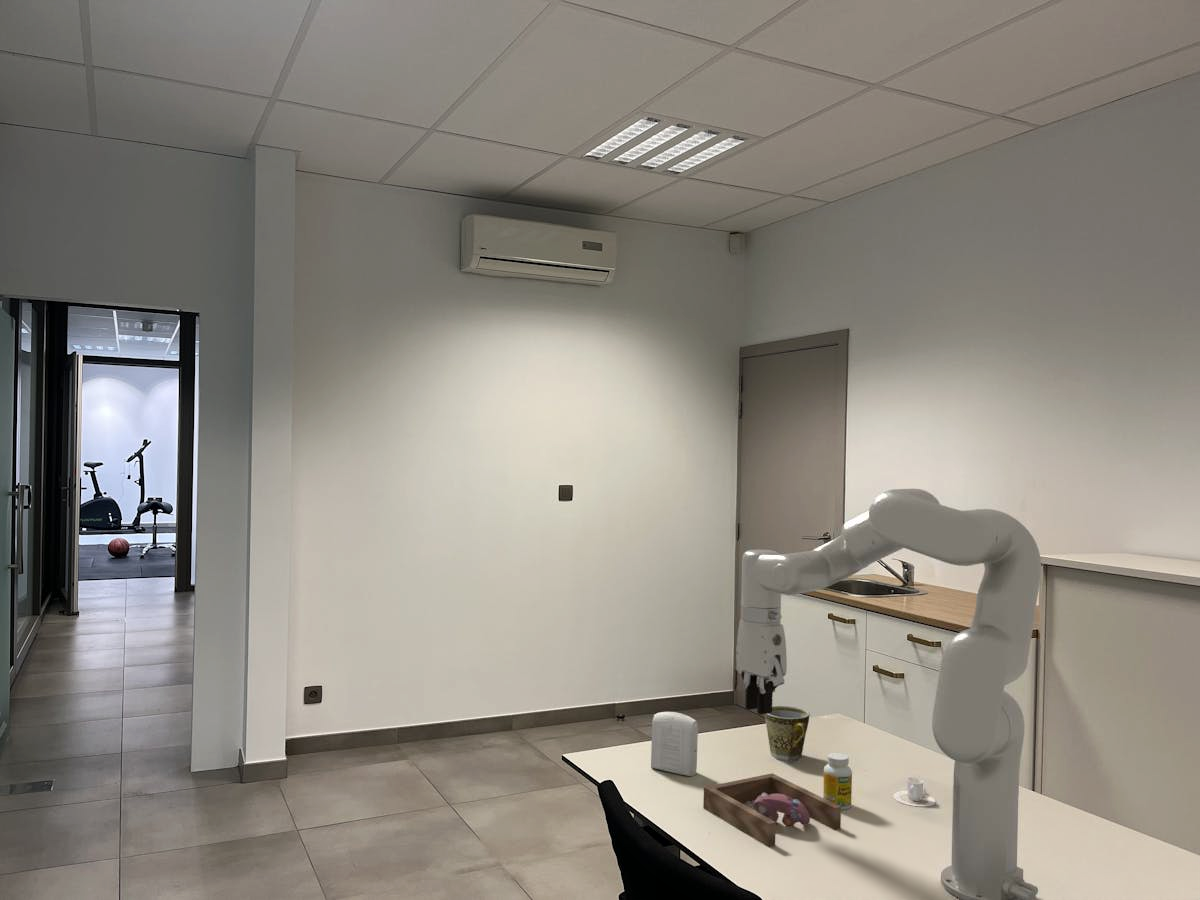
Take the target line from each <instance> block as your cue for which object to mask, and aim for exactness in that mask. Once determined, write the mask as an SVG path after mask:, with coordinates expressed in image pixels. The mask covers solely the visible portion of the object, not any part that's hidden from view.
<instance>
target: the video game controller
mask: <svg viewBox="0 0 1200 900" xmlns="http://www.w3.org/2000/svg"><path fill="white" fill-rule="evenodd" d="M753 802H754V803H753V808H754V809H753V810H755V811H756V812H758V813H760V814H762V815H764V816H765V817H767V818H769V819H771V820H773V821H775V822H776V823H777V821H778V820H779V817H780V816H779V813H781V814H783V817H782V818H781V823H782V824H783V825H784V826H786V827H789V828H793V827H794V826H795V824H797V823H800V824H801V825H802V826H808V825H809V824H810V819H811V818H810V815H809V813H808V811H807V810H806V808H805V806H804V805H803V804H802V803H801V802H800V801H799V800H798V799H794V800H793V799H792V798H790V797H787V796H786V795H783V794H777V793H776V794H769V795H768V794H767V793H762V795H760V796H759V797H757V799H756V800H755V801H753Z"/></svg>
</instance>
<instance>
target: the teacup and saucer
mask: <svg viewBox="0 0 1200 900" xmlns="http://www.w3.org/2000/svg"><path fill="white" fill-rule="evenodd" d="M926 791H927V789H926V787H925V786H924V781H923V780H922V779H919V778H915V777H908V778H906V790H902V791H898V792H895V793H894V794H893V795H892V796H893V798H894V800H895V801H897V802H899V803H901V804H903V805H907V806H912V807H916V808H917V807H920V808H925V807H931V806H934V805H935V804H936V799H935V798H934V797H933V796H931V795H929V794H926ZM902 795H907V796H908V797H907V798H908V799H909V800H910V801H913V802H920V801H921V800H922V798H926V800H928V802H927V803H924V804H915V803H910V802H906V801H904V800H903V799H901V798H900V796H902Z"/></svg>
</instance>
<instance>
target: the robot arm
mask: <svg viewBox="0 0 1200 900" xmlns="http://www.w3.org/2000/svg"><path fill="white" fill-rule="evenodd" d="M903 549H906V550H909V551H911V552H915V553H918V554H921V555H923V556H926V557H929V558H932V559H935V560H937V561H940V562H943V563H947V564H949V565H954V566H959V567H960V566H961V567H968V566H969V567H971V566H975V565H981V564H983V567H984V573H983V575H982V579H981V581H980V585H979V588H978V591H977V595H976V603H975V609H974V614H973V620H972V623H971V626H970V627H969V628H967V629H964V630H961V631H960V632H958V633H957V634H954V636H953V637H952V638H951V639H950V640H949V642H948V643H947V645H946V647H945V649H944V651H943V653H942V656H941V660H940V661H941V662H940V666H939V673H938V679H937V686H936V691H935V698H934V704H933V710H932V711H933V712H932V719H931V724H932V727H931V728H932V734H933V737H934V740H935V742H936V745H937V746H938V748H939V749H940V750H941V752H942V753H943V754H945V756H947V757H948V758H950V759H951V760H953V761H954V763H953V783H952V784H953V786H952V818H951V819H952V823H951V824H952V825H951V828H952V829H951V865H949V866H947V867H945V868H944V869H942V870H941V873H940V883H941V885H942V886H943V888H944V889H945V890H946V891H947V892H949V893H950V894H951V895H953V896H955V897H957V898H958V899H961V900H1036V899H1037V894H1038V893H1039V892H1038V891H1039V889H1038V887H1037V886H1036V885H1034V884H1032V883H1029V882H1026V881H1025V879H1024V869H1023V868H1020V867H1019V866H1018V834H1019V832H1018V831H1019V830H1018V829H1019V795H1020V794H1019V793H1020V769H1021V759H1022V758H1021V757H1022V751H1023V746H1024V740H1025V739H1024V737H1025V718H1024V715H1023V711H1022V709H1021V707H1020V705H1019V703H1018V701H1016V700H1015V698H1014V697H1013V696H1012V695H1011V694H1009V693H1008V692H1007V691H1005V686H1007V685H1009V684H1011V683H1014V682H1015V681H1017V680H1018V679H1019V678H1020V677H1022V676H1023V675H1024V673H1025V671H1026V669H1027V667H1028V663H1029V657H1030V648H1031V642H1032V636H1033V630H1034V625H1035V624H1034V623H1035V617H1036V609H1037V601H1038V596H1039V589H1040V585H1041V584H1040V583H1041V576H1042V575H1041V573H1042V562H1041V561H1042V560H1041V554H1040V549H1039V547H1038V544H1037V542H1036V540H1035V538H1034V536H1033V535H1032V533H1031V531H1029V530H1028V528H1026V526H1025V525H1023V523H1021V522H1020V521H1019V520H1017V519H1016V518H1015V517H1013V516H1012V515H1010V514H1008V513H1006V512H1003V511H1000V510H997V509H996V510H995V509H992V508H977V509H970V510H959V509H956V508H953V507H949V506H947V505H943V504H941V503H940V501H939V500H938V498H937V497H936V496H934V494H932V493H930V492H929V491H927V490H924V489H920V488H898V489H897V488H896V489H889V490H886V491H884V492H882V493H881V494H879V495H878V496H876V497H875V498H874V499H873V501H872V502H871V505H870V506H869V508H868V509H867V510H865V511H863V512H861V513H859V514H857V515H855V516H853V517H851V518H849V519H848V520H846V521H845V522H844V523H843V524H842V527H841V534H840V535H839V536H838V537H836V538H834V539H832V540H830V541H828V542H826V543H825V544H823V545H820V546H818V547H817V548H816V547H815V548H814V549H812V550H809V551H807V550H806V551H799V552H792V553H781V554H780V553H779V552H778V551H775V550H771V549H748V550H746V551H745V552H744V553H743V554H742V557H741V558H742V559H741V591H740V592H741V595H740V598H741V599H740V620H739V623H738V624H739V625H738V631H737V637H736V638H737V639H736V649H735V651H736V653H735V655H736V656H735V657H736V661H735V662H736V664H735V665H736V666H735V669H736V671H737V672H738V674H740V676H741V679H742V680H743V687H744V688H745V707H744V708H745V709H746V710H748V711H749V710H756V713H757V714H758V715H761V716H762V715H765V714H768V713H771V712H772V707H773V697H774V695H773V693H776V689H777V688H778V687H780V686H782V685H784V684H785V678H784V677H785V676H786V674H787V670H788V669H787V665H788V659H787V658H788V657H787V643H786V642H787V641H786V636H785V635H786V633H785V630H784V629H785V628H784V625H783V624H781V622H782V621H781V620H782V595H785V596H792V595H798V594H804V593H808V592H809V593H810V592H815V591H816V592H817V591H819V590H823V589H825V588H828V587H830V586H832V585H834V584H837V583H839V582H840V581H844V580H845V579H847V578H849V577H851V576H853V575H856V574H857V573H859V572H860V571H862V570H863V569H865V568H868V567H869V566H870V565H871V564H874V563H875V562H878V561H879V560H881V559H884V558H886V557H887V556H890V555H892V554H894V553H897V552H899V551H901V550H903Z"/></svg>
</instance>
